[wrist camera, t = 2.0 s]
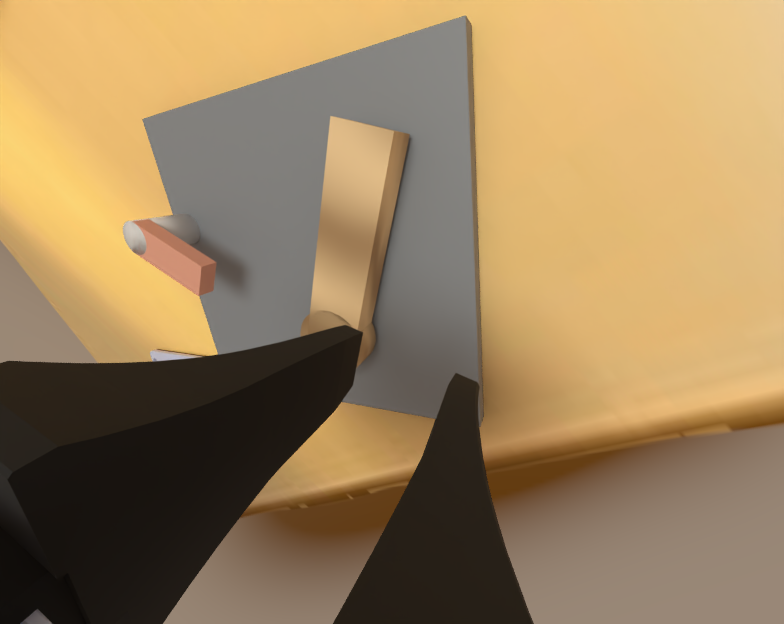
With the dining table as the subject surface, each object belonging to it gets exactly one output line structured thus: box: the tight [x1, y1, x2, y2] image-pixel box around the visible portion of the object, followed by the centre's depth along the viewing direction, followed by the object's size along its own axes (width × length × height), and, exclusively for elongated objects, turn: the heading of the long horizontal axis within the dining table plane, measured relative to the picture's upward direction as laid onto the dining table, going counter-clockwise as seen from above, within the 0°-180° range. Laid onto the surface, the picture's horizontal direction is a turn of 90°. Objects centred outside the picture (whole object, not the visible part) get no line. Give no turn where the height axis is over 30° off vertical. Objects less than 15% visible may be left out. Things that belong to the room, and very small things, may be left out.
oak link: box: [300, 116, 410, 368], centre depth 17 cm, size 13×4×3 cm, turn 167°
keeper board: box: [123, 16, 484, 427], centre depth 20 cm, size 19×20×5 cm
